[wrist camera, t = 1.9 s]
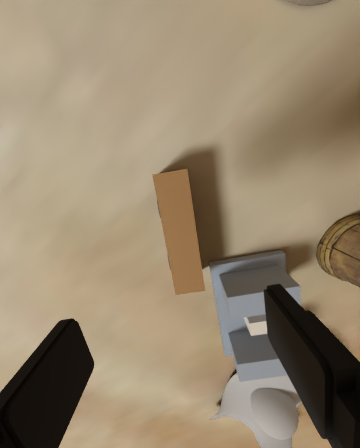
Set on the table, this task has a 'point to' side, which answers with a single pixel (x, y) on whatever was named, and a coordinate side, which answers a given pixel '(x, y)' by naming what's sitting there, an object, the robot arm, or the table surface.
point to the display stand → (249, 310)
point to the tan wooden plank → (179, 230)
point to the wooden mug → (342, 250)
